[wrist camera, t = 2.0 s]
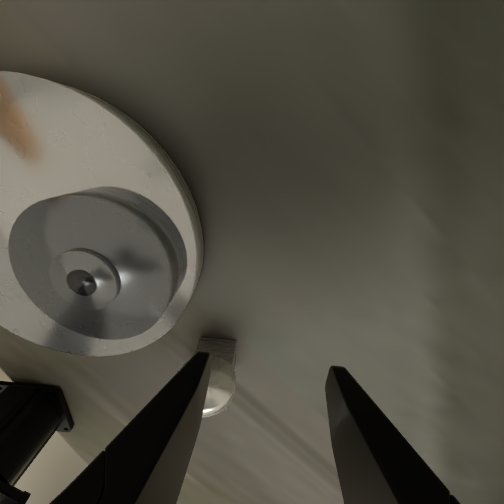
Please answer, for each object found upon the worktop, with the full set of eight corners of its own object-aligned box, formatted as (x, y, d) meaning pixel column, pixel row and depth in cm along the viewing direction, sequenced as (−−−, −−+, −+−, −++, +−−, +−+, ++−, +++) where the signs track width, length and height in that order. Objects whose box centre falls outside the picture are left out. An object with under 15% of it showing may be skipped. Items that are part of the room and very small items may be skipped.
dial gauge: (240, 367, 22) (228, 450, 16) (196, 362, 22) (168, 442, 16) (242, 334, 20) (230, 412, 14) (195, 329, 20) (163, 404, 15)
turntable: (243, 305, 18) (231, 373, 13) (57, 357, 22) (-14, 427, 16) (40, -129, 10) (-222, -441, 5) (-198, 67, 14) (-501, 16, 8)
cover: (189, 313, 16) (169, 355, 13) (74, 301, 17) (25, 339, 13) (184, 192, 13) (156, 207, 10) (41, 180, 14) (-32, 191, 10)
